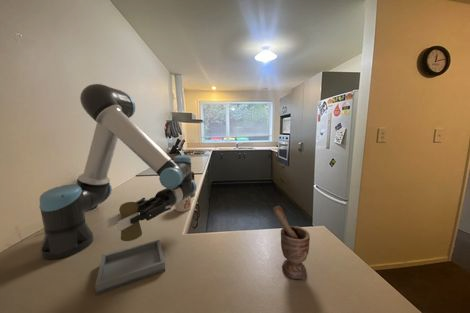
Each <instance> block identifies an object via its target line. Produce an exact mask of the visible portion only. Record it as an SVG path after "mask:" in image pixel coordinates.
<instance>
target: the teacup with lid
mask: <svg viewBox="0 0 470 313" xmlns="http://www.w3.org/2000/svg"><path fill="white" fill-rule="evenodd" d="M191 200H192V199H191V197H190V196H189V197H187V198H185V199H183V200H182V201H180V202H178V203H176V204H175V205H174V208H175V209H174V210H175V211H177V212H180V213H183V212H188V211H189V210H191V208H192V202H191Z"/></svg>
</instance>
